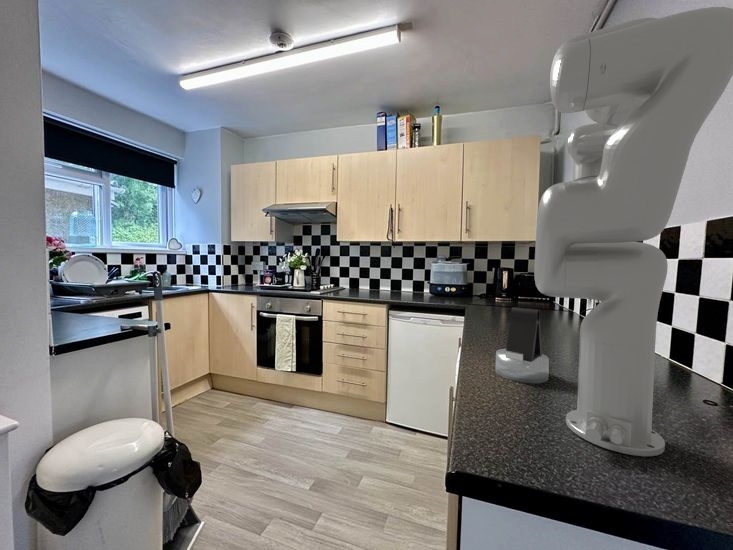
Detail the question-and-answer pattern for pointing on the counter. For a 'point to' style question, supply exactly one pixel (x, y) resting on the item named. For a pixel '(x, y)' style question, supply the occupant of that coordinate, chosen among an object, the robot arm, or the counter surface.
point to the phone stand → (525, 333)
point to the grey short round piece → (521, 367)
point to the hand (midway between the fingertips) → (587, 256)
